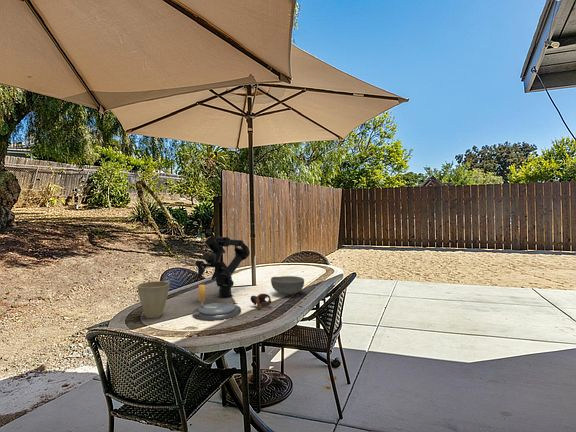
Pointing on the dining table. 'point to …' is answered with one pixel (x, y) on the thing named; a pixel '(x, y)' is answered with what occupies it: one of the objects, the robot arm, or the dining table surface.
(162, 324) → the dining table surface
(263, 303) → the brown animal figurine
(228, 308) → the dial
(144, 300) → the plant pot
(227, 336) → the dining table surface
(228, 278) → the robot arm
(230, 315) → the dial plate
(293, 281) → the bowl
